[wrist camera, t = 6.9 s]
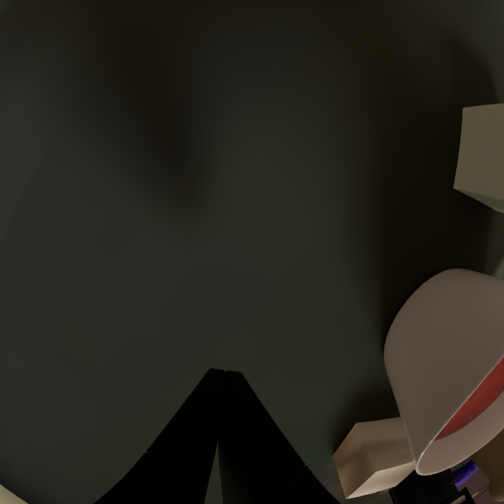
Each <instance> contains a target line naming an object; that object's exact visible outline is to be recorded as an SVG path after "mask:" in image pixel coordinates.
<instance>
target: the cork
mask: <svg viewBox="0 0 504 504" xmlns="http://www.w3.org/2000/svg"><path fill="white" fill-rule="evenodd" d="M469 458H470V459H471V460H472V461H473V462H474V463H475V464H476V465H477V466H478V468H479V469H480V470H481V471H482V472H483V473H484V474H485V475H486V476H487V478H488V479H489V480H490V484H489V493H490V495H491V497H492V498H493V499H494V500H495V501H499V502H501V501H504V429H503V430H502V431H500V432H499V433H498V434H497V435H496V436H495V437H494V438H493V439H492V440H491V441H489V442H488V443H487V444H486V445H484V446H483V447H482V448H481V449H479V450H478V451H477V452H475V453H474V454H472V455H471V456H469Z"/></svg>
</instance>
